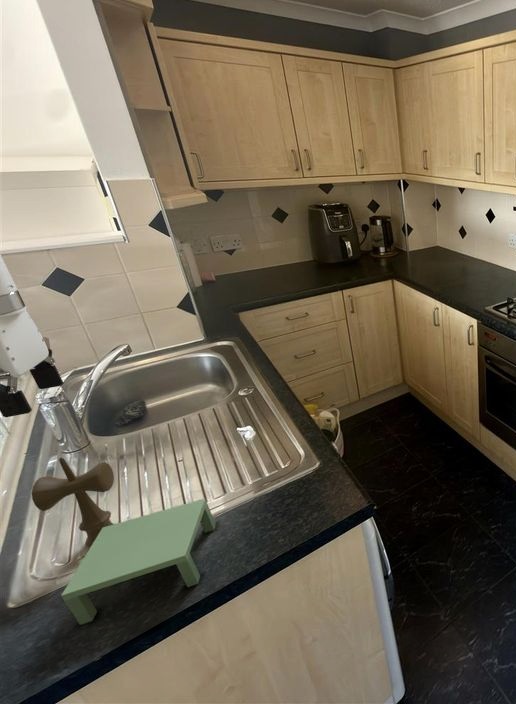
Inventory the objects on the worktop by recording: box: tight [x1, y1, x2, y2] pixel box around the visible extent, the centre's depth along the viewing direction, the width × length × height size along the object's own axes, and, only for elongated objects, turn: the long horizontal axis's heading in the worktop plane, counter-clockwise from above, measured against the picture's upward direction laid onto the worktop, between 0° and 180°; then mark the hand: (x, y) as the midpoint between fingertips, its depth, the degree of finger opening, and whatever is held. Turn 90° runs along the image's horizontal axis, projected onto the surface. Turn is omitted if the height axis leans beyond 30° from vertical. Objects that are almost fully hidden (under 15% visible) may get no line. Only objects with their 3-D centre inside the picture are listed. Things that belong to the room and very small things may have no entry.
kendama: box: [31, 457, 115, 548], centre depth 77 cm, size 6×10×20 cm, turn 118°
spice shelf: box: [60, 498, 217, 626], centre depth 73 cm, size 16×14×7 cm
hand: (36, 399), depth 70 cm, fingers open, 9 cm apart
